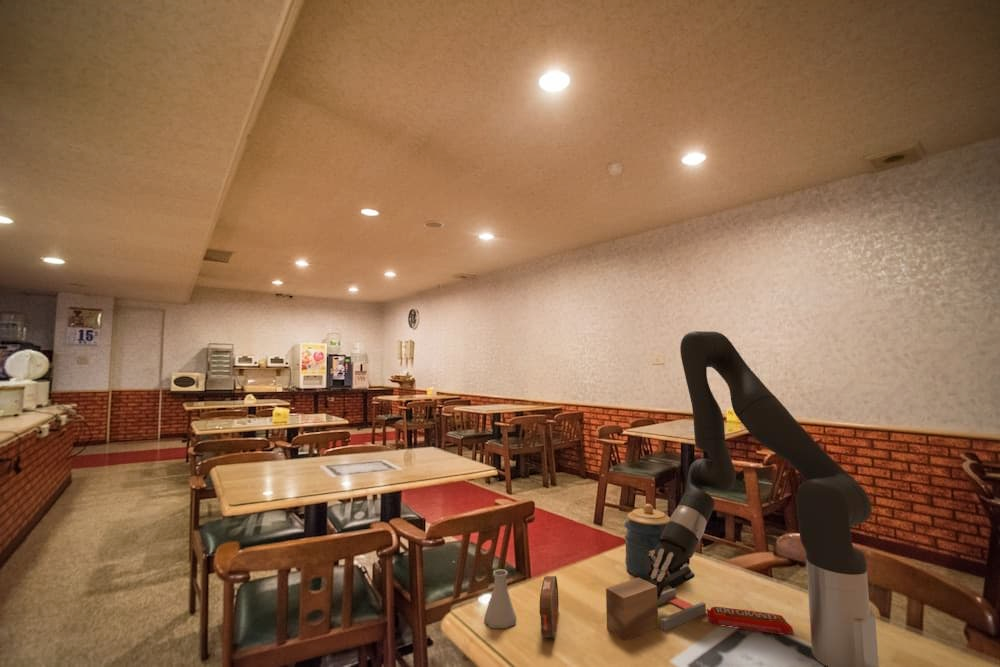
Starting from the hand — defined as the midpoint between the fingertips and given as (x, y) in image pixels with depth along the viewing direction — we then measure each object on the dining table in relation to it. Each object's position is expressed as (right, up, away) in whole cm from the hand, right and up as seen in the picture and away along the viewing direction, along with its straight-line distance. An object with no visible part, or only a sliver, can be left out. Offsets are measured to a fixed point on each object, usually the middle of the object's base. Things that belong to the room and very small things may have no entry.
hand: (650, 598), depth 98 cm
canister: (+8, -7, +24) cm, 26 cm away
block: (-5, -4, -3) cm, 7 cm away
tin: (-22, -4, -3) cm, 23 cm away
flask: (-33, -4, -1) cm, 33 cm away
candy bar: (+20, -5, -3) cm, 21 cm away
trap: (+10, -5, +5) cm, 12 cm away
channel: (+5, -5, +2) cm, 7 cm away
